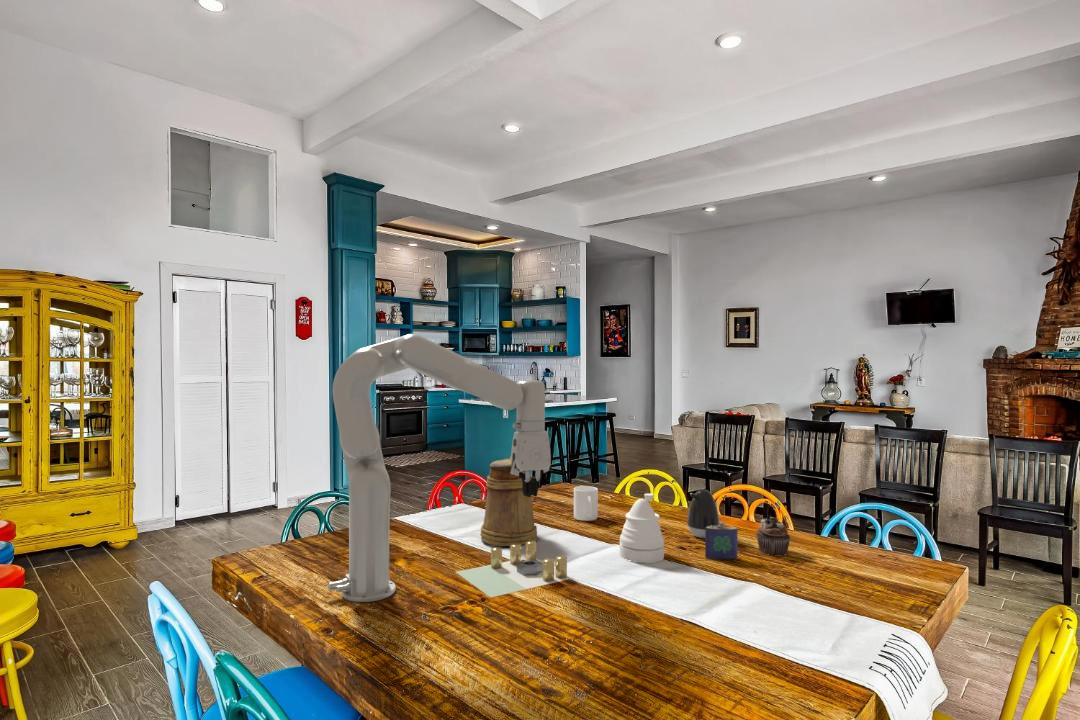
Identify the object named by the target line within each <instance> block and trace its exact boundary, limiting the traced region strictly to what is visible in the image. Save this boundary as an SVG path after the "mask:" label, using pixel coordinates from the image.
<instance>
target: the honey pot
mask: <svg viewBox="0 0 1080 720" xmlns="http://www.w3.org/2000/svg"><path fill="white" fill-rule="evenodd" d="M643 495H644V496H643V497H644V498H639V499H637V500H636V501H635V502H634V504H633V505H632V506H631V508H630V510H629V511H628V512H627V513H625V516H624V517H625V523H624V524H623V526H622V527H623V528H622V531H621V534H620V536H619V557H620V556H621V557H620V558H622V559H623V558H624V559H623V560H625V559H627V560H626V561H628V560H631V561H636V562H635V563H637V562H654V563H658V562H657V561H659V562H661V561H662V560H664V558H665V537H664V536H663V531H662V530H661V526H660V524H659V522H658V521H659V520H660V518H661V517H660V514H658V513H656V512H655V511H654V509H653V507H652V506H651V504H650V503H649V502H651V501H652V500H653V498H654V494H653V493H644V494H643ZM631 561H630V562H631Z"/></svg>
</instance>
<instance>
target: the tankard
mask: <svg viewBox="0 0 1080 720" xmlns="http://www.w3.org/2000/svg"><path fill="white" fill-rule="evenodd" d="M489 468H490V471H489V475H487V477H486V478H487V479H486V488H487V493H486V494H487V495H486V503H485V509H484V518H483V524H482V525H481V527H480V539H481V541H482V542H483V543H486V544H489V545H493V546H498V547H499V546H500V547H502V546H503V547H510V545H511V544H521V546H526V542H527V541H537V540H538V531H537V530H538V527H537V525H535V519H534V509H533V501H532V496H531V497H527V496H524V495H523V492H522V480H521V479H520V478H519V477H518V476H516V475H513V474H511V473H510V472H511V468H512V466H511V456H510V457H509V458H504V459H499V460H495V461H492V462H491V463H490V464H489ZM518 471H520V470H519V469H518ZM529 477H530V479H531V474H529Z"/></svg>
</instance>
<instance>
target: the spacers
mask: <svg viewBox="0 0 1080 720" xmlns="http://www.w3.org/2000/svg"><path fill="white" fill-rule="evenodd" d="M536 541H537V540H536ZM536 541H527V542H526V544H525V558H526V559H537V542H536ZM521 559H522V545H521V544H511V545H510V546H509V561H510V564H511V565H517V563H518V562H520V561H521ZM502 562H503V547H501V546H500V547H499V546H495V547H494V546H493V547H491V548H490V565H491V568H492V569H500V568H502ZM542 562H543V576H542V580H543V581H546V582H551V581H554V568H555V577H556V578H559V579H564V578H566V577H567V575H568V557H567V556H566V555H556V556H555V559H553V558H549V557H546V558H543V559H542Z"/></svg>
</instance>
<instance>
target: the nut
mask: <svg viewBox="0 0 1080 720" xmlns="http://www.w3.org/2000/svg"><path fill="white" fill-rule="evenodd" d="M536 559H537V558H536ZM536 559H523V560H521V561H520V562H518V563H517V572H518V573H520V574H522V575H523V576H530V575H538V574H540V573H541V572H542V571H543V563H542V562H543V561H542V562H540V561H541V560H540V561H538V560H539V559H538V560H536Z"/></svg>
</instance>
